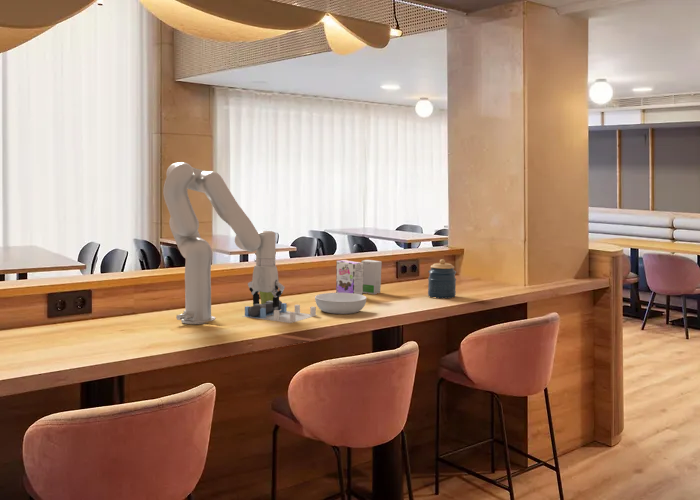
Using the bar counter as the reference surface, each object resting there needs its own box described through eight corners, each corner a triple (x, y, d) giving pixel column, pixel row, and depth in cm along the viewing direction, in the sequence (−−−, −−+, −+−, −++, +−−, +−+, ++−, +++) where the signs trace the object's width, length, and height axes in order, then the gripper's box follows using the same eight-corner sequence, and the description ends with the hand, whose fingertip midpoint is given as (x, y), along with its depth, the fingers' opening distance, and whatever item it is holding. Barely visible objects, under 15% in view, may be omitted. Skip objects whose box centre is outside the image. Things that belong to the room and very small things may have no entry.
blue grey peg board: (290, 325, 256) (290, 313, 255) (242, 318, 267) (242, 307, 267) (317, 317, 271) (317, 306, 271) (270, 311, 283) (270, 300, 282)
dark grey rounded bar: (256, 317, 264) (256, 306, 264) (247, 316, 266) (247, 305, 266) (283, 310, 279) (283, 300, 278) (274, 309, 281) (274, 299, 281)
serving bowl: (320, 319, 268) (320, 301, 268) (310, 309, 289) (310, 293, 288) (372, 317, 273) (372, 300, 272) (359, 307, 293) (359, 291, 293)
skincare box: (359, 293, 332) (360, 260, 331) (366, 291, 338) (366, 259, 336) (375, 294, 328) (375, 261, 327) (381, 292, 334) (382, 260, 332)
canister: (451, 294, 331) (452, 257, 329) (459, 298, 318) (459, 260, 317) (424, 294, 330) (425, 257, 328) (431, 299, 317) (432, 260, 315)
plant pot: (260, 307, 292) (260, 287, 291) (254, 303, 301) (254, 283, 300) (281, 306, 296) (281, 285, 295) (275, 302, 304) (275, 282, 304)
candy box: (335, 295, 325) (335, 260, 324) (345, 294, 329) (345, 259, 327) (353, 299, 314) (353, 263, 313) (363, 298, 318) (363, 262, 316)
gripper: (242, 262, 272) (242, 305, 274) (277, 265, 263) (277, 309, 265) (254, 260, 278) (254, 302, 280) (289, 263, 269) (289, 306, 271)
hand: (265, 305), depth 272 cm, fingers open, 9 cm apart
